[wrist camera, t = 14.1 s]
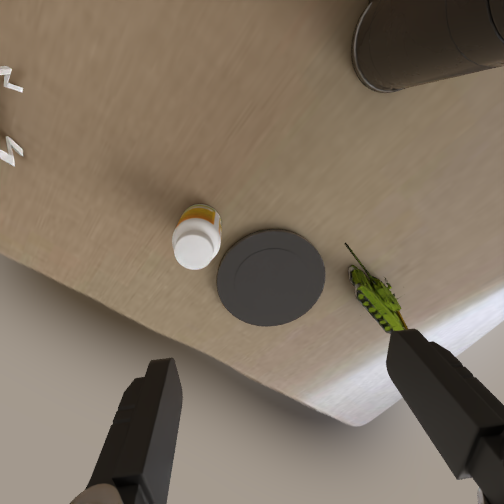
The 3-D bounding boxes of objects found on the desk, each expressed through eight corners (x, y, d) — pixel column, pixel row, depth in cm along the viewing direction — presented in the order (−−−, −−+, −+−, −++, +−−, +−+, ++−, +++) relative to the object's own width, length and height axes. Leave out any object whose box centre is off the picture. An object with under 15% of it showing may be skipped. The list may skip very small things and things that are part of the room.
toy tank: (384, 351, 42) (451, 324, 38) (312, 273, 35) (386, 229, 31) (370, 318, 48) (428, 291, 44) (307, 245, 41) (368, 205, 37)
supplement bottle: (172, 217, 36) (154, 245, 27) (206, 195, 35) (199, 217, 26) (197, 248, 38) (187, 284, 29) (229, 228, 37) (230, 259, 29)
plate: (195, 290, 41) (195, 295, 40) (262, 205, 36) (263, 208, 35) (277, 336, 46) (278, 342, 45) (344, 267, 41) (347, 271, 40)
